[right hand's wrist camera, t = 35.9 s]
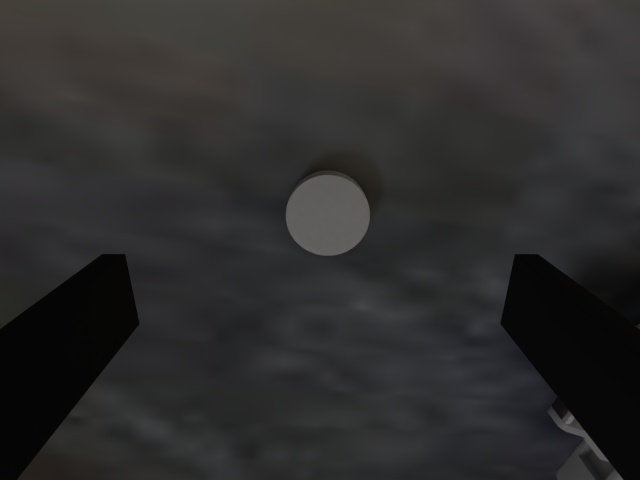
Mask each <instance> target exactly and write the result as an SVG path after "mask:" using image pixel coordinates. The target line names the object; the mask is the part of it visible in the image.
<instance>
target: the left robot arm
mask: <svg viewBox="0 0 640 480" xmlns="http://www.w3.org/2000/svg"><path fill="white" fill-rule="evenodd" d="M636 327H638V328H639V329H640V324H638V325H637V326H636ZM548 413H549V415H550V416H551V418H552V419H553V420H554V422H555V423H556V424H557V426H558V427H560V428H561V429H562V430H564V431H566V432H568V433H572V434H575V435H578V436H581V437H583V439H582V441H581V442H580V443H579V444H578V446H577V447H576V448H575V449H574V451H573V452H572V453H571V454H570V455H569V457H568V458H567V459H566V460H565V462H564V463H563V464H562V465H561V466H560V468H559V469H558V470H557V472H556V477H557V480H623V479H622V477H621V476H620V475H619V474H618V472H617V471H616V470H615V469H614V467H613V466H612V465H611V464H610V462H609V461H608V460H607V458H606V457H605V456H604V455H603V453H602V452H601V451H600V450H599V448H598V447H597V446H596V444H595V443H594V442H593V441H592V439H591V438H590V437H589V436H588V434H587V433H586V432H585V430H584V429H583V428H582V427H581V425H580V424H579V423H578V422H577V420H576V419H575V418H574V417H573V415H572V414H571V413H570V411H569V410H568V409H567V408H566V406H565V405H564V404H563V403H562V401H561V400H560V399H559V397H557V399H556V400H555V401H554V403H553V404H552V405H551V407H550V408H549V409H548Z"/></svg>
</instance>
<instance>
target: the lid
mask: <svg viewBox="0 0 640 480" xmlns="http://www.w3.org/2000/svg"><path fill="white" fill-rule="evenodd" d="M369 221H370V209H369V205H368V201H367V199H366V197H365V194H364V192H363V190H362V189H361V187H360V186H359V185H358V183H357V182H356V181H355V180H354V179H352V178H351V177H349V176H348V175H346V174H344V173H341V172H337V171H331V170H324V171H318V172H315V173H312V174H310V175H308V176H306V177H305V178H303V179H302V180H301V181H300V182H299V183H298V184H297V185H296V187H295V188H294V190H293V192H292V194H291V196H290V198H289V201H288V204H287V208H286V222H287V227H288V229H289V232H290V234H291V236H292V237H293V239H294V240H295V241H296V242H297V243H298V244H299V245H300V246H301V247H302V248H304V249H306V250H307V251H309V252H311V253H314V254H318V255H325V256H332V255H338V254H341V253H344V252H346V251H348V250H350V249H352V248H353V247H354V246H356V245H357V244H358V243H359V242H360V241H361V239H362V238H363V237H364V235H365V233H366V231H367V229H368V225H369Z"/></svg>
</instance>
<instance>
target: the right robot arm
mask: <svg viewBox="0 0 640 480" xmlns="http://www.w3.org/2000/svg"><path fill="white" fill-rule="evenodd" d="M138 325H139V319H138V314H137V310H136V305H135V300H134V295H133V290H132V286H131V281H130V276H129V271H128V266H127V262H126V257H125V254H102V255H101V256H99V257H98V258H96V259H95V260H94V261H92V262H91V263H90V264H88V265H87V266H86V267H84V268H83V269H81V270H80V271H79V272H77V273H76V274H75V275H73V276H72V277H71V278H69V279H68V280H66V281H65V282H64V283H62V284H61V285H60V286H58V287H57V288H56V289H54V290H53V291H51V292H50V293H49V294H47V295H46V296H45V297H43V298H42V299H41V300H39V301H38V302H36V303H35V304H34V305H32V306H31V307H30V308H28V309H27V310H26V311H24V312H23V313H21V314H20V315H19V316H17V317H16V318H15V319H13V320H12V321H11V322H9V323H8V324H6V325H5V326H4V327H2V328H1V329H0V480H17V479H18V477H19V476H20V475H21V474H22V472H23V471H24V470H25V469H26V467H27V466H28V465H29V464H30V462H31V461H32V460H33V458H34V457H35V456H36V455H37V453H38V452H39V451H40V450H41V448H42V447H43V446H44V444H45V443H46V442H47V441H48V439H49V438H50V437H51V436H52V434H53V433H54V432H55V430H56V429H57V428H58V427H59V425H60V424H61V423H62V422H63V420H64V419H65V418H66V417H67V415H68V414H69V413H70V411H71V410H72V409H73V408H74V406H75V405H76V404H77V403H78V401H79V400H80V399H81V397H82V396H83V395H84V394H85V392H86V391H87V390H88V389H89V387H90V386H91V385H92V384H93V382H94V381H95V380H96V378H97V377H98V376H99V375H100V373H101V372H102V371H103V370H104V368H105V367H106V366H107V364H108V363H109V362H110V361H111V359H112V358H113V357H114V356H115V354H116V353H117V352H118V350H119V349H120V348H121V347H122V345H123V344H124V343H125V342H126V340H127V339H128V338H129V337H130V335H131V334H132V333H133V331H134V330H135V329H136V328H137V326H138ZM501 325H502V326H503V328H504V329H505V330H506V331H507V333H508V334H509V335H510V337H511V338H512V339H513V340H514V342H515V343H516V344H517V345H518V347H519V348H520V349H521V350H522V352H523V353H524V354H525V356H526V357H527V358H528V359H529V361H530V362H531V363H532V364H533V366H534V367H535V368H536V370H537V371H538V372H539V373H540V375H541V376H542V377H543V378H544V380H545V381H546V382H547V384H548V385H549V386H550V387H551V389H552V390H553V391H554V392H555V394H556V395H557V396H558V397H559V399H560V400H561V401H562V403H563V404H564V405H565V406H566V408H567V409H568V410H569V411H570V413H571V414H572V415H573V417H574V418H575V419H576V420H577V422H578V423H579V424H580V425H581V427H582V428H583V429H584V430H585V432H586V433H587V434H588V436H589V437H590V438H591V439H592V441H593V442H594V443H595V444H596V446H597V447H598V448H599V450H600V451H601V452H602V453H603V455H604V456H605V457H606V458H607V460H608V461H609V462H610V464H611V465H612V466H613V467H614V469H615V470H616V471H617V472H618V474H619V475H620V476H621V477H622V479H623V480H640V329H639V328H638V327H636V326H635V325H634V324H632V323H631V322H629V321H628V320H627V319H625V318H624V317H623V316H621V315H620V314H619V313H617V312H616V311H614V310H613V309H612V308H610V307H609V306H608V305H606V304H605V303H604V302H602V301H601V300H599V299H598V298H597V297H595V296H594V295H593V294H591V293H590V292H589V291H587V290H586V289H584V288H583V287H582V286H580V285H579V284H578V283H576V282H575V281H574V280H572V279H571V278H569V277H568V276H567V275H565V274H564V273H563V272H561V271H560V270H559V269H557V268H556V267H554V266H553V265H552V264H550V263H549V262H548V261H546V260H545V259H544V258H542V257H541V256H539V255H538V254H515V257H514V262H513V266H512V271H511V276H510V281H509V286H508V290H507V295H506V300H505V305H504V310H503V314H502V319H501Z"/></svg>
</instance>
